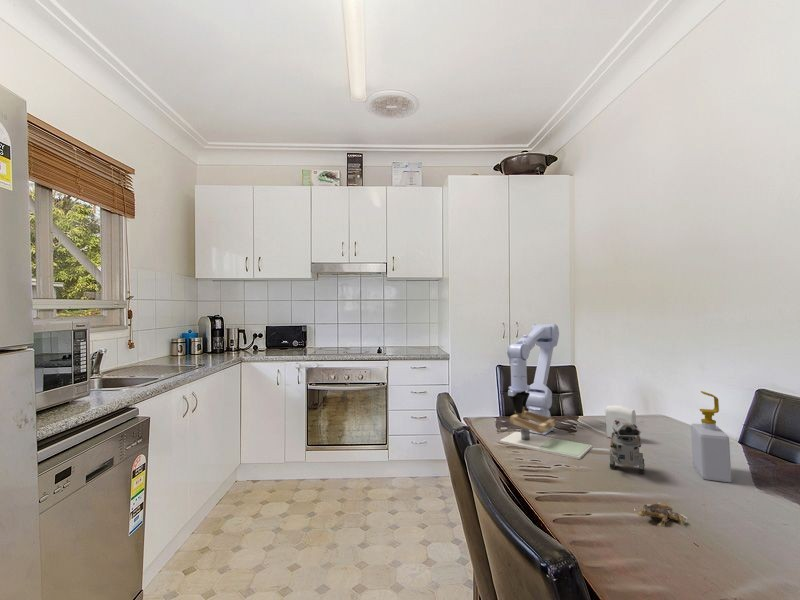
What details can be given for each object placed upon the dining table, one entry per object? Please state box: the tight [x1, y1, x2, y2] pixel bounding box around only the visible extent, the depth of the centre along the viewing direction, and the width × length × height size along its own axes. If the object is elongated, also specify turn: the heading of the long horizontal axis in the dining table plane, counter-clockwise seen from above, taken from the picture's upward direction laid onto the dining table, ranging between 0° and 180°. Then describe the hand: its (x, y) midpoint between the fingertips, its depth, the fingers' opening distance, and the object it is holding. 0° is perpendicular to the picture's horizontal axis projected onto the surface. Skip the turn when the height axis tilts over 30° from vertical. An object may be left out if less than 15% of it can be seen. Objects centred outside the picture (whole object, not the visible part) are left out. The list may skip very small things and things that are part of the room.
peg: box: [520, 427, 531, 441], centre depth 147 cm, size 3×3×4 cm
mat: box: [539, 437, 591, 456], centre depth 138 cm, size 13×13×1 cm
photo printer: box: [605, 404, 637, 439], centre depth 147 cm, size 10×4×12 cm, turn 39°
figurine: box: [609, 419, 646, 475], centre depth 118 cm, size 9×12×15 cm
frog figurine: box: [633, 501, 688, 528], centre depth 91 cm, size 12×12×4 cm
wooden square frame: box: [509, 406, 556, 435], centre depth 145 cm, size 12×13×6 cm
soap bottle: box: [690, 390, 732, 483], centre depth 115 cm, size 12×7×23 cm, turn 155°
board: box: [498, 431, 593, 460], centre depth 142 cm, size 14×28×1 cm, turn 49°
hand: (519, 412), depth 148 cm, fingers closed on wooden square frame
